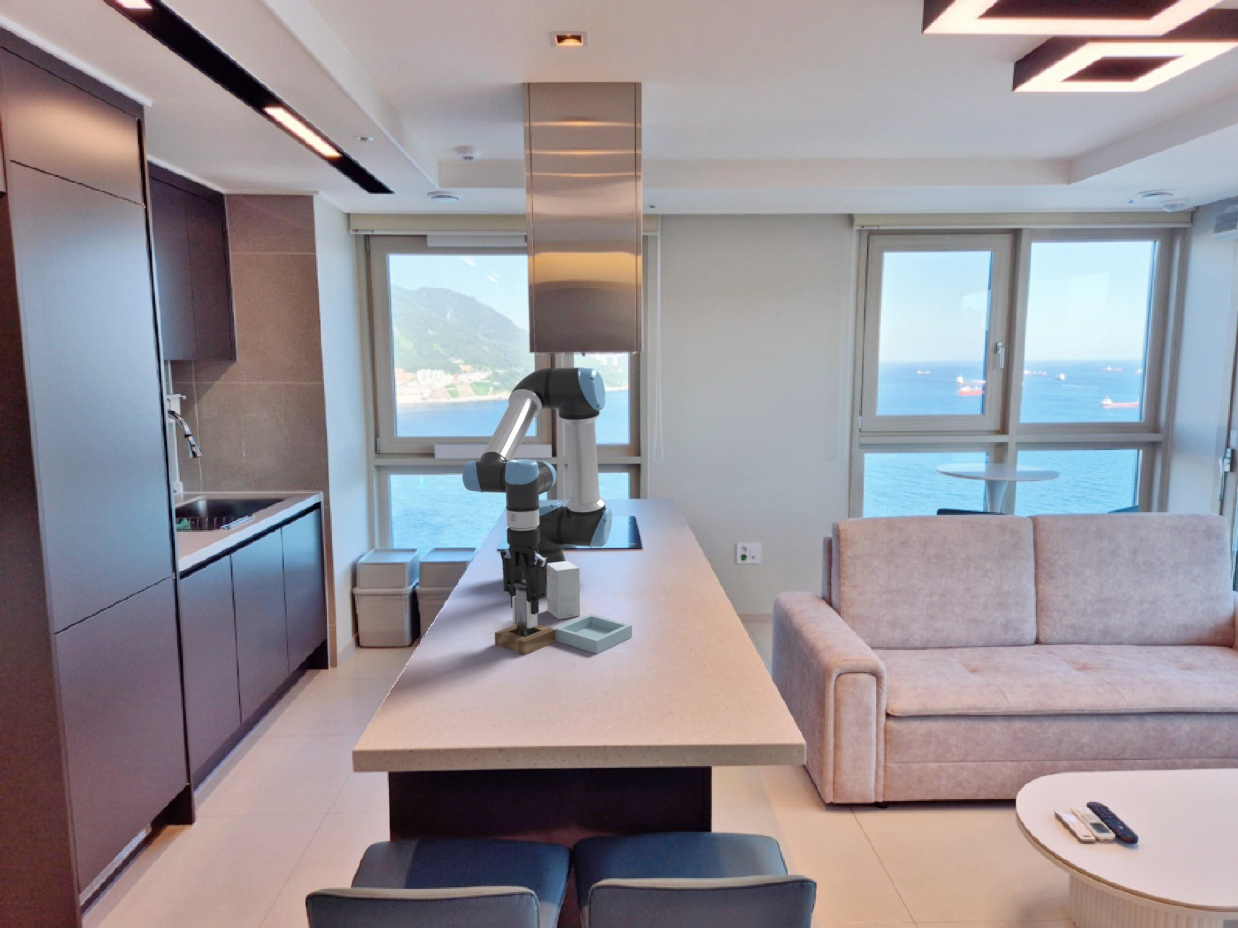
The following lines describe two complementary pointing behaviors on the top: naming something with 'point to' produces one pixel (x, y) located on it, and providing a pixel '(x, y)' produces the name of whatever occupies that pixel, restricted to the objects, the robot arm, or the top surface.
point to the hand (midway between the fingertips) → (525, 624)
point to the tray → (593, 633)
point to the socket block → (524, 639)
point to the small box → (563, 590)
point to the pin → (522, 608)
